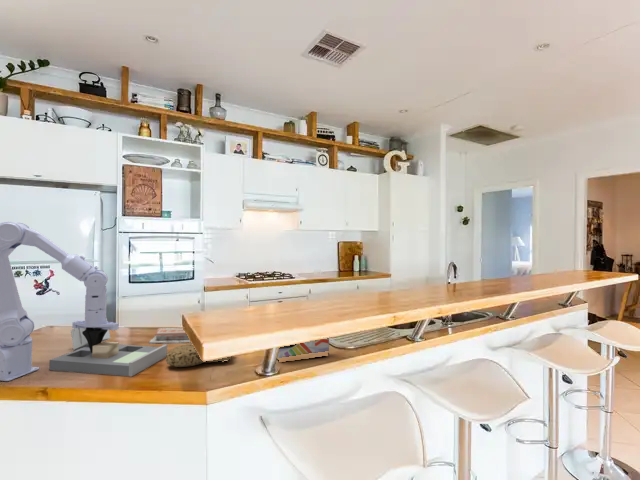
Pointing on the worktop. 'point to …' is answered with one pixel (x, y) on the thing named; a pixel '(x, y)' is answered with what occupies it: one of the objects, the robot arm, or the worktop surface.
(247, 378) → the worktop surface
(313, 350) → the cake pan box
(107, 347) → the block
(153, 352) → the platform
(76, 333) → the supplement box
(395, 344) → the worktop surface
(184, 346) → the sponge
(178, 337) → the packaged product
